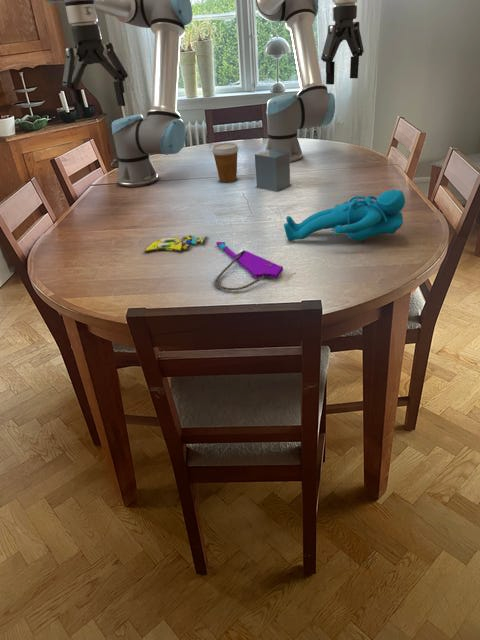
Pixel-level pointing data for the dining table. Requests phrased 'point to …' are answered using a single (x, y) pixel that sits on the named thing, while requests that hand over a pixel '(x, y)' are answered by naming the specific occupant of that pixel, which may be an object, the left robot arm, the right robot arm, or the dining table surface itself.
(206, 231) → the dining table surface
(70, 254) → the dining table surface
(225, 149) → the disposable coffee cup
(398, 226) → the toy
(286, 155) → the block
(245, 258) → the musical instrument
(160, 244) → the toy
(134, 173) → the left robot arm
